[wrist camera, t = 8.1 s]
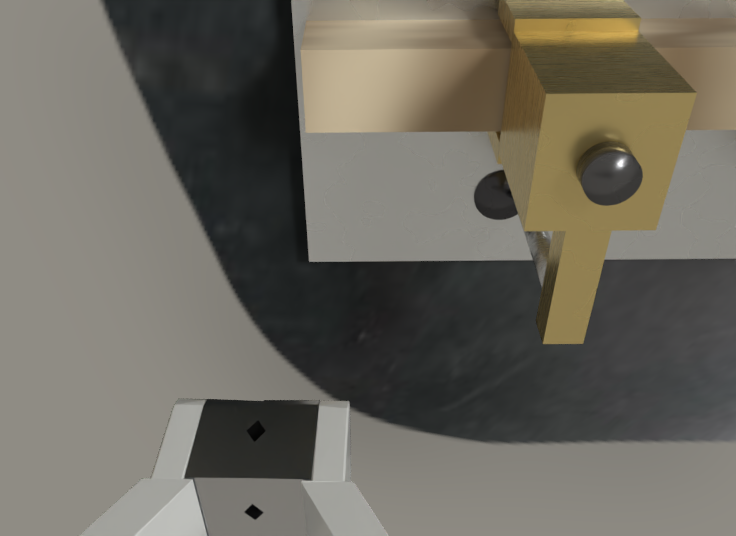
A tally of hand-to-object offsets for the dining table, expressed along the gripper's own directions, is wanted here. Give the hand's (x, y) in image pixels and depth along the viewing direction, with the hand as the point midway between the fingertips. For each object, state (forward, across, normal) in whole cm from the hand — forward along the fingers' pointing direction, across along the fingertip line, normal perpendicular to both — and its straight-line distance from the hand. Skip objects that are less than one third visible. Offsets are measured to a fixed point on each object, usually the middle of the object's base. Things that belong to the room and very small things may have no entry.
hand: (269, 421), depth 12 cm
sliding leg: (+17, -8, +3) cm, 19 cm away
